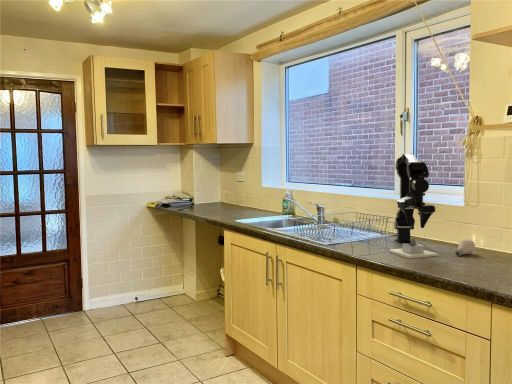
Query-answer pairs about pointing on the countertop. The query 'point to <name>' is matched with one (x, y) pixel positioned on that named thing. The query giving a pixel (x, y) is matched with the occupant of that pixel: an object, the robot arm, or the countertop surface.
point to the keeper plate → (414, 255)
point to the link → (413, 248)
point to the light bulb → (465, 247)
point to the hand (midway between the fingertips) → (415, 226)
